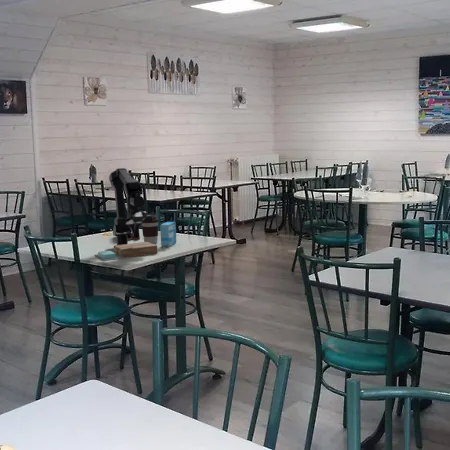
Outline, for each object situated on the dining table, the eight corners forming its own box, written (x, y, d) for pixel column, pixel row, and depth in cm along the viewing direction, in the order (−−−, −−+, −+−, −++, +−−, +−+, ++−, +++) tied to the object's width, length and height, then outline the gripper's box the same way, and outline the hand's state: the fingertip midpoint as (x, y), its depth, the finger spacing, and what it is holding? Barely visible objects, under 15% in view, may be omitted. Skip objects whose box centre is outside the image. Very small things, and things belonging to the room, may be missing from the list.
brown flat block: (114, 253, 306) (113, 245, 306) (147, 249, 315) (146, 241, 314) (123, 257, 294) (122, 249, 293) (157, 253, 303) (157, 245, 302)
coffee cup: (157, 241, 338) (156, 214, 335) (161, 244, 328) (160, 216, 326) (140, 242, 335) (138, 215, 332) (143, 245, 325) (142, 218, 323)
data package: (168, 247, 318) (167, 224, 317) (160, 247, 320) (159, 224, 318) (176, 243, 330) (175, 221, 328) (168, 243, 331) (167, 221, 329)
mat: (94, 255, 302) (94, 254, 302) (113, 253, 307) (113, 252, 307) (104, 260, 288) (104, 260, 288) (124, 258, 293) (124, 257, 293)
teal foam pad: (109, 250, 302) (109, 254, 302) (97, 252, 299) (98, 255, 299) (115, 253, 294) (115, 257, 294) (103, 254, 291) (104, 258, 291)
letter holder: (122, 241, 343) (121, 216, 341) (120, 235, 362) (118, 212, 360) (140, 239, 345) (138, 215, 343) (136, 234, 364) (135, 211, 362)
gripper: (120, 209, 289) (121, 241, 291) (156, 205, 298) (158, 237, 300) (113, 206, 299) (114, 237, 301) (148, 203, 307) (150, 234, 310)
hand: (134, 236), depth 303 cm, fingers closed
